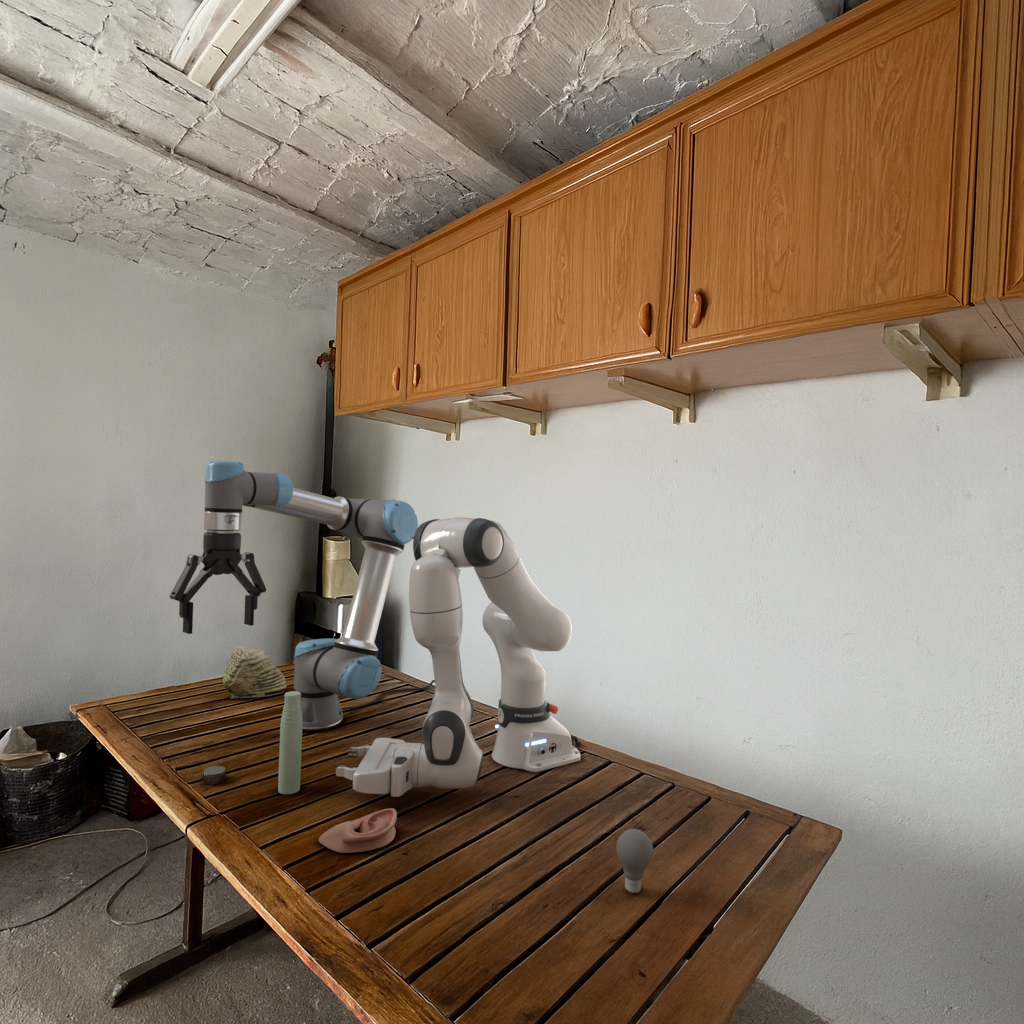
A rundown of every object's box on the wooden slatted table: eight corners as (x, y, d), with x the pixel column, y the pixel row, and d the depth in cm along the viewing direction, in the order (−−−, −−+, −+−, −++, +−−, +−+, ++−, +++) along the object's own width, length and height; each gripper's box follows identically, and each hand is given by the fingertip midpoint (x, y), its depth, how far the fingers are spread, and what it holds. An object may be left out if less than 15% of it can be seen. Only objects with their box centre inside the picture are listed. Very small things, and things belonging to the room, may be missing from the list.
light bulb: (610, 879, 108) (613, 822, 108) (644, 879, 109) (647, 822, 109) (619, 902, 102) (622, 840, 102) (655, 901, 103) (658, 840, 103)
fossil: (218, 695, 195) (220, 647, 195) (278, 685, 208) (279, 640, 207) (228, 703, 189) (230, 653, 188) (289, 692, 201) (290, 645, 201)
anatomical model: (310, 826, 114) (340, 797, 125) (309, 848, 114) (339, 817, 125) (379, 837, 111) (403, 806, 122) (378, 859, 111) (403, 827, 123)
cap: (199, 779, 139) (199, 769, 139) (220, 774, 142) (221, 764, 142) (206, 787, 136) (207, 776, 136) (228, 781, 139) (229, 770, 139)
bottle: (304, 789, 137) (307, 693, 136) (284, 796, 133) (288, 698, 133) (293, 783, 140) (296, 688, 139) (274, 789, 136) (277, 693, 136)
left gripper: (170, 533, 126) (167, 639, 126) (284, 532, 146) (280, 624, 146) (154, 531, 131) (151, 633, 131) (266, 530, 150) (263, 619, 151)
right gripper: (416, 732, 146) (356, 729, 147) (398, 769, 126) (329, 766, 126) (415, 759, 147) (355, 756, 147) (397, 801, 126) (328, 797, 126)
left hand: (219, 628), depth 139 cm, fingers open, 13 cm apart
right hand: (343, 761), depth 136 cm, fingers open, 8 cm apart
